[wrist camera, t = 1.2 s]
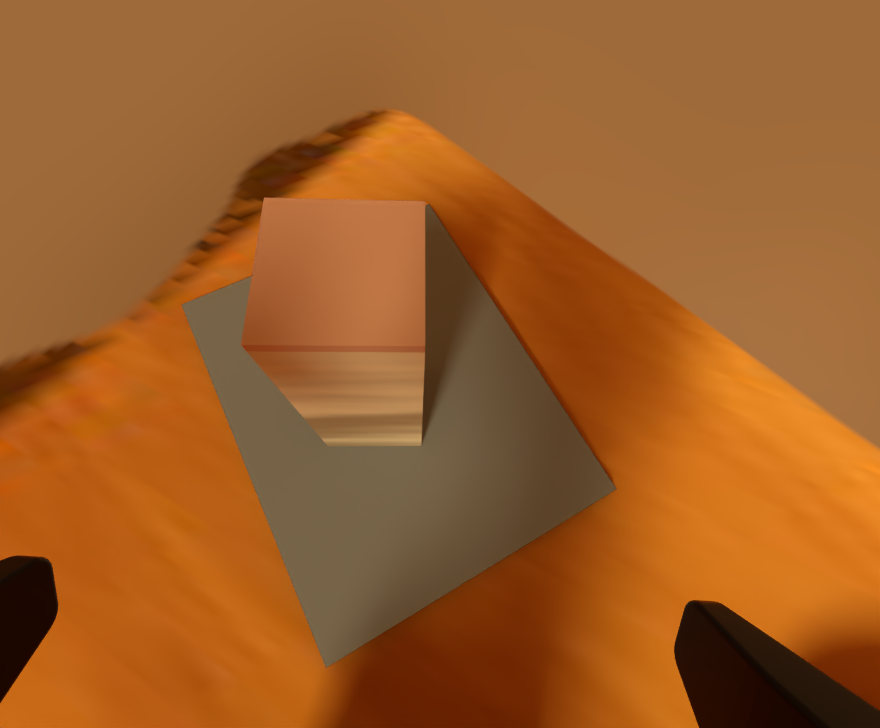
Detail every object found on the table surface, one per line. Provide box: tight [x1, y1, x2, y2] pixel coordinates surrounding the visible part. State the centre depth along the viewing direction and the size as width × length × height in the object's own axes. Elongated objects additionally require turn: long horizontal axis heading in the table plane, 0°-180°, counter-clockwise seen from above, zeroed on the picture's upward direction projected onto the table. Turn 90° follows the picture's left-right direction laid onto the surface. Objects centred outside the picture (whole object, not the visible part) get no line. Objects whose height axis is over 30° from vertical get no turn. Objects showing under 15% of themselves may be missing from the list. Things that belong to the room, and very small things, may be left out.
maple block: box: [241, 198, 425, 446], centre depth 18 cm, size 4×4×12 cm
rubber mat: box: [182, 204, 616, 668], centre depth 24 cm, size 15×19×1 cm
